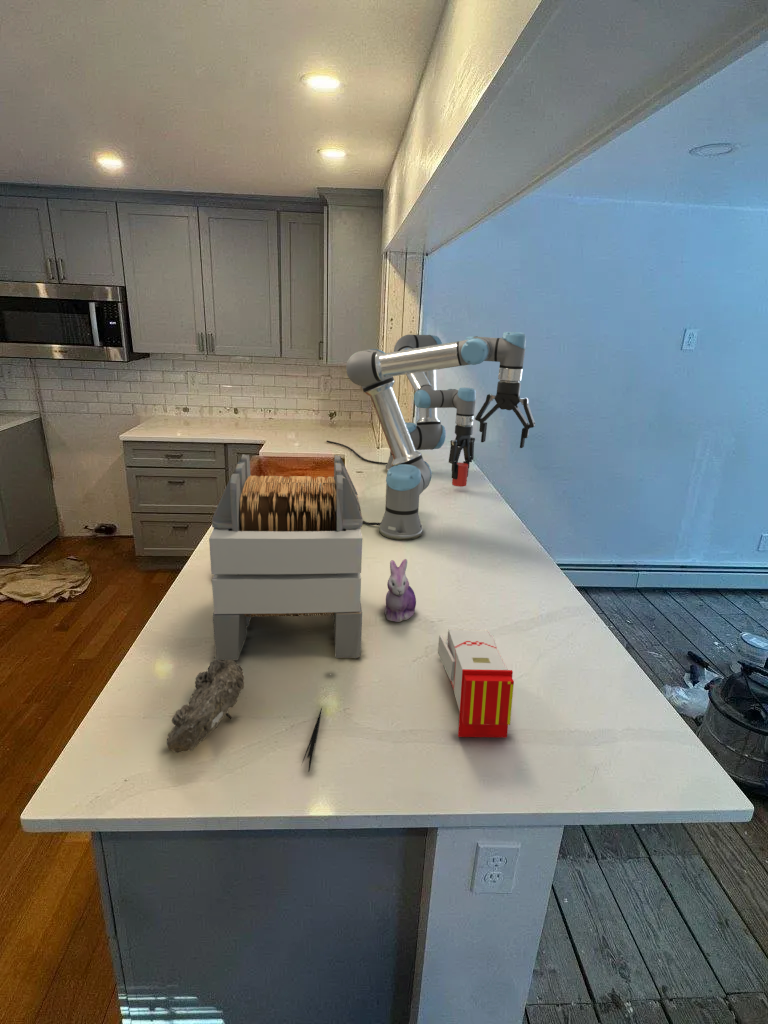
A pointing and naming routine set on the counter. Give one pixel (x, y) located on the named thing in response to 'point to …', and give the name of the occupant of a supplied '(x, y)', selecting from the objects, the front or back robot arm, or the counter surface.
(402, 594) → the figurine
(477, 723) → the toy
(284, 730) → the counter surface
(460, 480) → the canister
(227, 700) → the fossil
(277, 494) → the record crate
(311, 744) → the feather
